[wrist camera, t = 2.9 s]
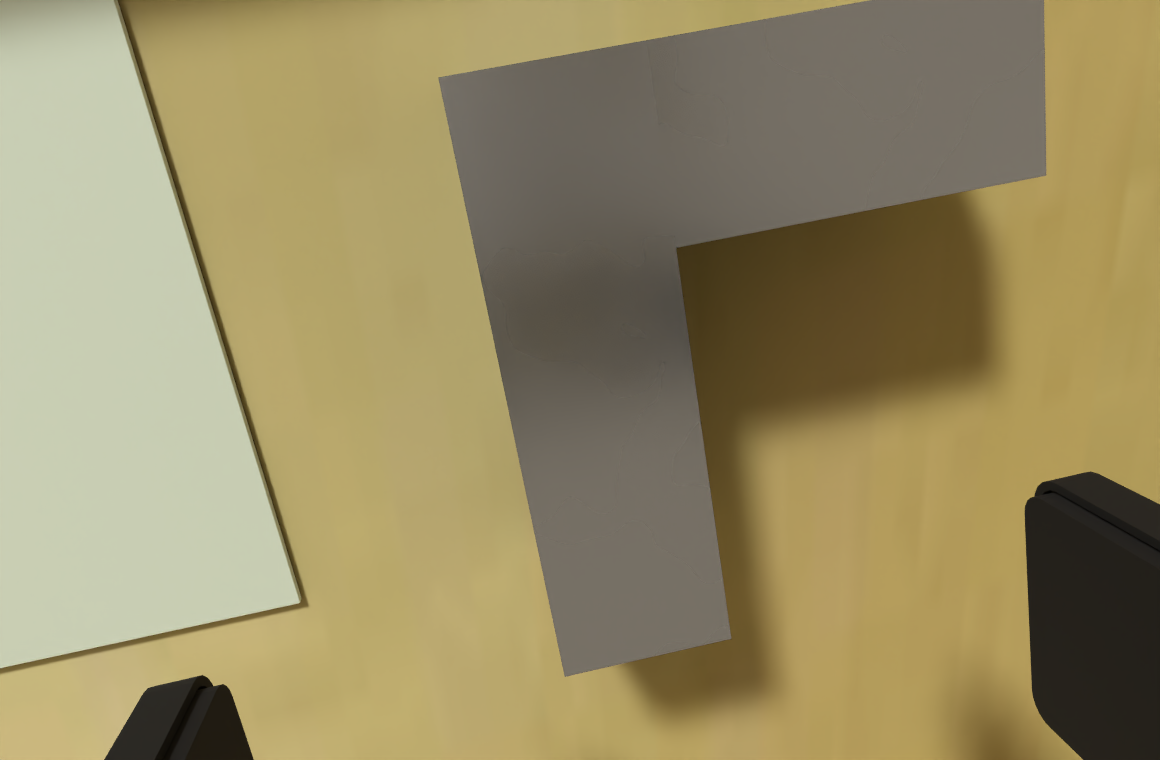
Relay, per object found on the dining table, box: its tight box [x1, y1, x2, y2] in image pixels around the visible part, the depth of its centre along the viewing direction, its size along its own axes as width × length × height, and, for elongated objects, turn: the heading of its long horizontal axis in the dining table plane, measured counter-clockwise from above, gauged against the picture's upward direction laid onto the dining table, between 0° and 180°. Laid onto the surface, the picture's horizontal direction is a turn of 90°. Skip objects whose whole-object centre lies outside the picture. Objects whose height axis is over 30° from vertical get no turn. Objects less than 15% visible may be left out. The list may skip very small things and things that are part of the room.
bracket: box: [439, 0, 1046, 677], centre depth 16 cm, size 10×9×5 cm
